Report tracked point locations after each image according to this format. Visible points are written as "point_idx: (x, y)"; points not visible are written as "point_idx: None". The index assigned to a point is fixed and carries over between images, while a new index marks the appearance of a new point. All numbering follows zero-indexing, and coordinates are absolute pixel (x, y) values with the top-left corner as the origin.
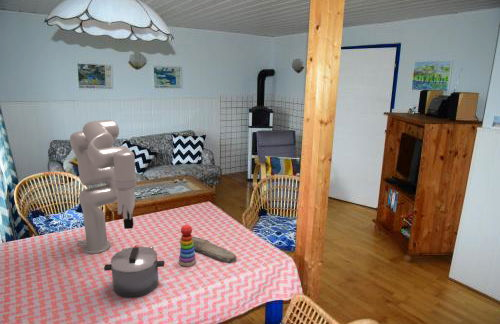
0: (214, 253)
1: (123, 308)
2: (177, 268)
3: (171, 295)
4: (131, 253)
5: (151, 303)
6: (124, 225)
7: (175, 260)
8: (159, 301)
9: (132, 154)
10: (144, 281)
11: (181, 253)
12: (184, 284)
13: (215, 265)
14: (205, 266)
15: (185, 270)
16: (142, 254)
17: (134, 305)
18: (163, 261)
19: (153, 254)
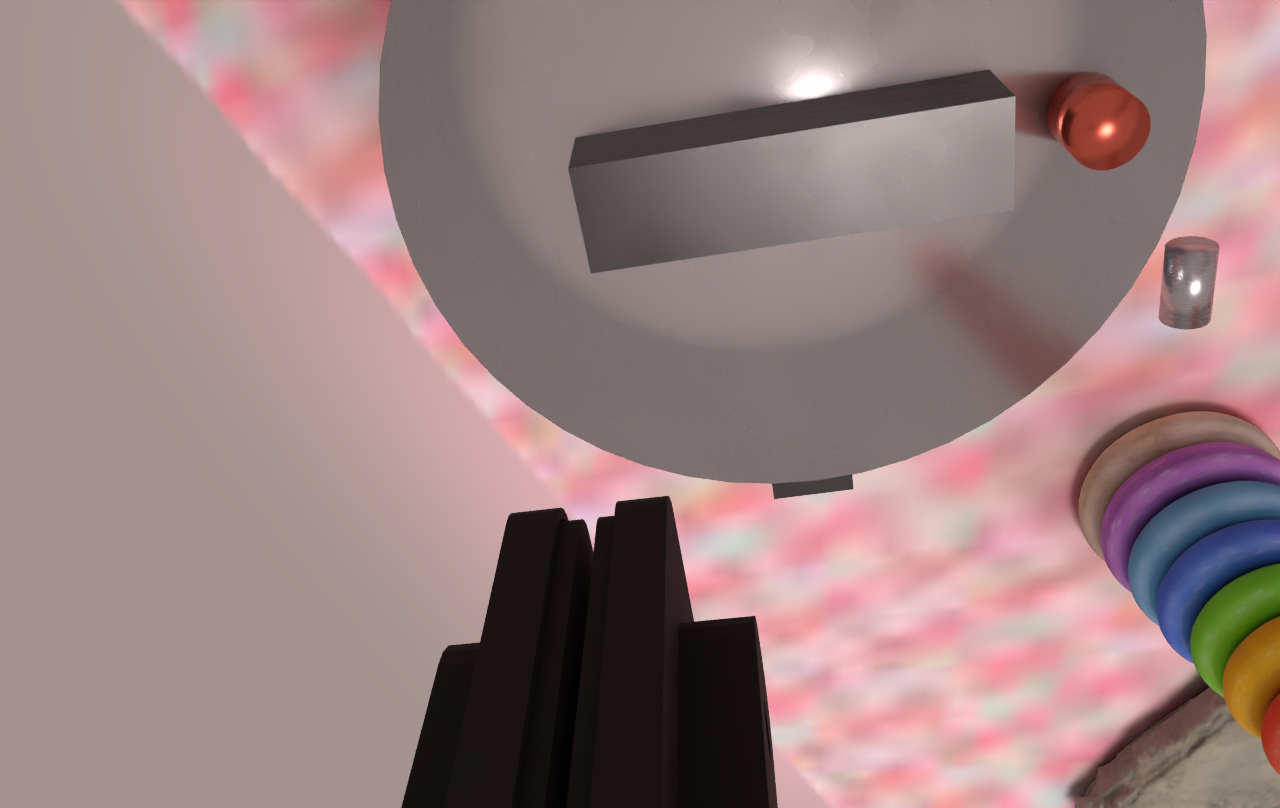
0: (1223, 734)
1: (284, 25)
2: (1061, 406)
3: (562, 439)
4: (773, 148)
5: (416, 293)
6: (499, 605)
7: (1256, 355)
8: (458, 357)
9: None
10: None
11: (1196, 527)
12: (745, 514)
13: (1055, 708)
14: (1052, 639)
15: (1005, 487)
16: (876, 266)
17: (356, 132)
18: (830, 483)
19: (865, 426)
